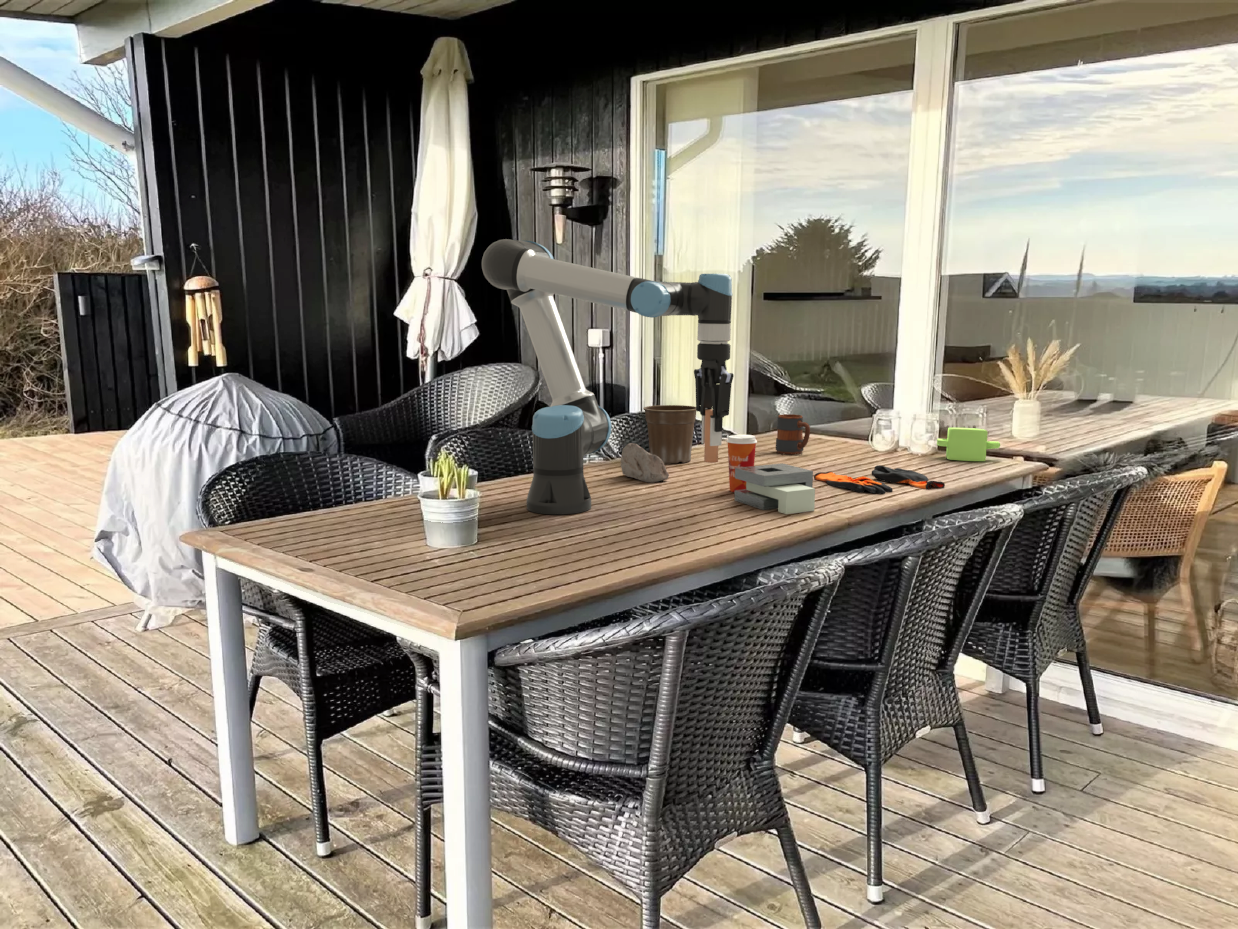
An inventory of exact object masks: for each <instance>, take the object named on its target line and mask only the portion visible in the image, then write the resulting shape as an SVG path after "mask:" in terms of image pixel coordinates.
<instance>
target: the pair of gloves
mask: <svg viewBox="0 0 1238 929" xmlns="http://www.w3.org/2000/svg"><path fill="white" fill-rule="evenodd" d="M871 475H873V477H874V478H875V479H876V480H878V481H876V480H873V479H871V478H869V477H867V476H859V477H856V478H853V477H852V476H848V475H847V474H846V475H842V474H841V475H840V474H836V473H835V472H833V471H826V472H823V471H822V472H821V471H819V472H816V473H815V474H813V480H814V481H815V480H817V481H822V482H826V483H827V484H828V485H830V486H832V487H837V488H841V489H846V490H851V491H853V492H856V493H858V494H859V493H864V492H865V491H867V492H869V493H871V494H878V495H885V494H886V493H892V492H893V488H892V486H889V485H887V484H885V482H888V483H892V484H907V485H910V486H911V487H914V488H918V489H925V490H931V489H932V488H935V489H943V488H945V482H943V481H941V480H940V481H936V480H929V478H928V476H926V475H925V474H923V473H920V472H917V471H914V470H911V469H903V468H900V467H897V468H891V467H888V466H885V465H881V464H880V465H879V464H877V465H875V466H874V469H873V470H871Z"/></svg>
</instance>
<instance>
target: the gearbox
mask: <svg viewBox="0 0 1238 929" xmlns="http://www.w3.org/2000/svg"><path fill="white" fill-rule="evenodd" d="M988 432H989V431H988V430H987V429H984V428H973V427H970V428H969V427H947V438H937V439H936V446H938V447H946V449H945V450H946V452H945V457H946V459H947V460H949V461H950V460H951V461H962V462H963V461H964V462H986V459H987V450H993V449H999V448H1000V447H1001V443H1000V441H995V440H994V441H993V440H990V441H989V440H988V434H989V433H988Z"/></svg>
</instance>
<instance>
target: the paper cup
mask: <svg viewBox="0 0 1238 929" xmlns="http://www.w3.org/2000/svg"><path fill="white" fill-rule="evenodd" d="M725 441H726V443H727V454H728V461H727V462H728V481H729V482H728V483H729V491H730V492H731V493H734V494H735V490H743V489H746V481H743V480H739V479H736V478H735V468H740V467H750V466H755V460H756V457H755V456H756V449H757V448H756V447H757V446H756V445H757V443H758V440H757V439H756V436H755V435H752V434H731V435H729V436H728V437H727V440H725Z"/></svg>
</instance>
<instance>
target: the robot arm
mask: <svg viewBox="0 0 1238 929" xmlns="http://www.w3.org/2000/svg"><path fill="white" fill-rule="evenodd" d="M481 269H482V273H483V276H484V278H485V279H486V280H487V281H488V283H490V285H492V286H493V287H495V288H497V289H501V290H506V292H507V294H508V297H509V300H510V304H512V305H514V306H516V307H518V308H519V310H520V312H521V315H522V318H523V321H524V324H525V326H526V330H527V333H528V335H529V338H530V341H531V343H532V346H533V349H534V353H535V354H536V358H537V360H538V364H539V366H540V369H541V372H542V374H543V378H544V380H545V383H546V386H547V388H548V391H549V394H550V397H551V400H552V402H551V404H550V406H546V407H542V408H540V409H538V410H537V411H536V412H534V414H533V416H532V425H531V431H532V460H533V461H532V463H533V464H532V465H533V477H532V479H531V483H530V487H529V489H528V490H529V491H528V492H527V497H526V510H527V511H529V512H531V513H536V514H543V515H569V514H570V515H572V514H573V515H574V514H577V513H579V514H580V513H583V512H587V511H589V510H591V509H592V496H591V493H590V490H589V488H588V484H587V482H586V478H585V474H584V456H587V455H591V454H595V453H597V452H598V451H599V450H600V449H602V448H603V447H604V446H605V445H607V443H608V441H609V439H610V437H611V433H612V422H611V418H610V415H609V414H608V412H607V411H606V410H605V409H604V408H602V407H601V406H600V405H599V404H598V401H597V398H596V396H595V395H596V394H594V392H592V391H590V390H588V389H587V388H586V385H585V383H584V380H583V377H582V375H581V372H580V369H579V365H578V363H577V360H576V358H575V355H574V352H573V349H572V347H571V344H570V341H569V338H568V336H567V331H566V330H565V327H564V324H563V320H562V319H561V315H560V312H559V310H558V307H557V304H556V301H555V298H554V295H557V296H561V297H567V298H571V299H576V300H580V301H584V302H588V303H593V304H597V305H602V306H606V307H611V308H614V309H620V310H624V311H628V312H631V313H636V314H638V315H640V316H642V317H647V318H657V317H668V316H671V317H672V316H692V317H693V316H695V317H696V316H697V319H698V320H697V336H696V337H697V338H696V339H697V341H698V342H699V343H698V344H697V350H696V357H697V359H698V360H701V363H700V367H699V368H697V369H696V368H694V370H693V375H694V379H695V381H694V382H695V384H694V385H695V407H696V412H699V414H700V415H701V441H700V442H701V444H703V445H705V410H708V409H713V415H711V416H710V417H711V418H710V446H718V447H719V446H722V438H723V423H724V422H723V421H724V420H723V419H724V417H726V416H729V415H730V406H731V391H732V383H733V380H734V376H735V375H734V373H733V372H728V371H727V364H726V362H727V361H728V360H730V359H731V345H730V343H728V342H731V334H732V331H731V330H732V329H731V328H732V308H733V307H732V305H733V304H732V303H733V289H732V288H733V282H732V279H733V278H732V277H731V275H729V274H728V273H700V274H699V276H698V280H697V281H695V282H686V281H685V282H682V281H677V282H675V281H657V280H656V281H655V280H650V279H646V278H642V277H636V276H631V275H627V274H623V273H620V272H619V273H617V272H613V271H609V270H606V269H605V270H604V269H599V268H594V267H591V266H586V265H581V264H577V263H572V262H568V261H564V260H558V259H554V256H553V254H552V253H551V251H549V249H548V248H547V247H545V246H544V245H542V244H541V243H537V242H535V241H531V240H517V239H509V238H508V239H507V238H505V239H504V238H503V239H498V240H497V241H494V242H492V243H491V244H490V245H489V246H488V247H487V248H486V250H485V251H484V252H483V256H482V259H481Z"/></svg>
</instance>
